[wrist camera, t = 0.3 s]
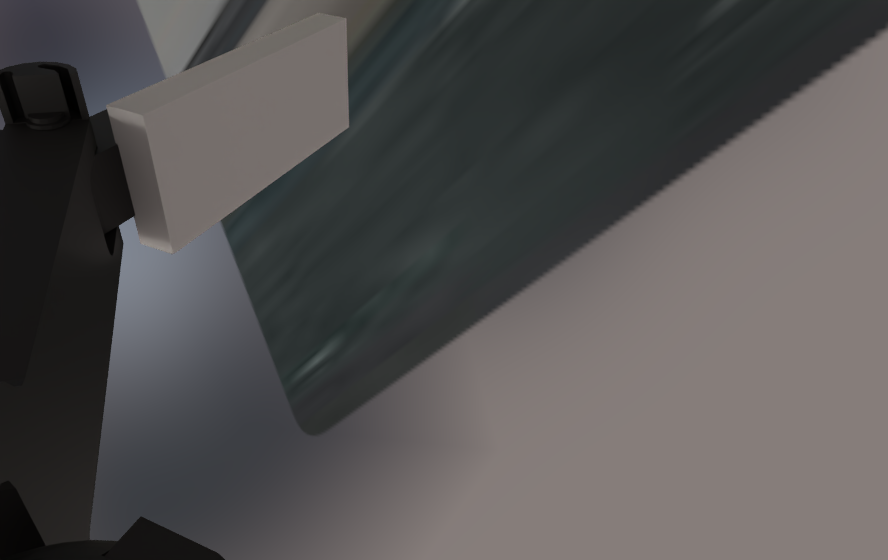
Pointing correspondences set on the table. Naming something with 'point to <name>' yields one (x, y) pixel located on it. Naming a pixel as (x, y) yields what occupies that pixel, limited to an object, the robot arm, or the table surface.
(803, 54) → the table surface
